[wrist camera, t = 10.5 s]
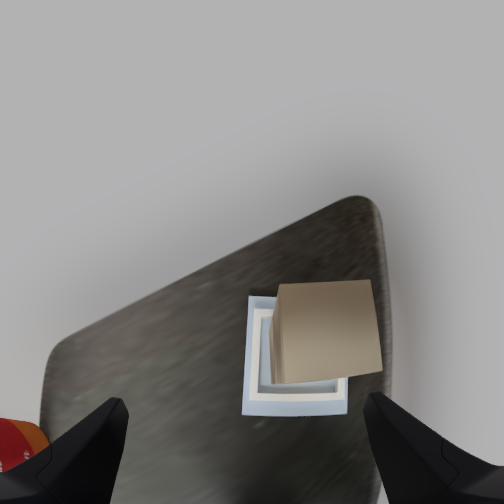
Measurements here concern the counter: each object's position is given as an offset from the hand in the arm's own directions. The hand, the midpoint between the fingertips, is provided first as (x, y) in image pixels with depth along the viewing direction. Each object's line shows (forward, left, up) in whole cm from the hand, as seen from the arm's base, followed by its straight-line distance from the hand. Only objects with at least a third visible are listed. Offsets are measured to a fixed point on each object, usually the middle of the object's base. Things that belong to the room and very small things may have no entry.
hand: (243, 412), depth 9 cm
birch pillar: (+4, -4, -13) cm, 14 cm away
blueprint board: (+4, -4, -14) cm, 14 cm away
